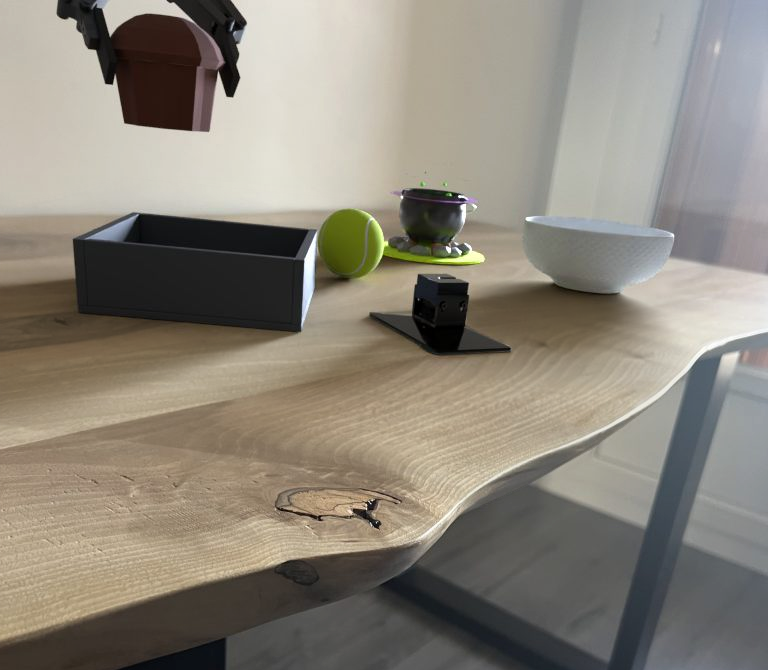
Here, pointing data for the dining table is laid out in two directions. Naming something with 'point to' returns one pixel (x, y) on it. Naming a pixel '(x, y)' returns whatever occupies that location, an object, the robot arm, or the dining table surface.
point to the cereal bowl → (594, 252)
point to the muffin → (166, 72)
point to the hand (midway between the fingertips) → (174, 81)
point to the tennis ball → (350, 243)
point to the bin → (197, 271)
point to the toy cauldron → (432, 227)
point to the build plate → (440, 318)
